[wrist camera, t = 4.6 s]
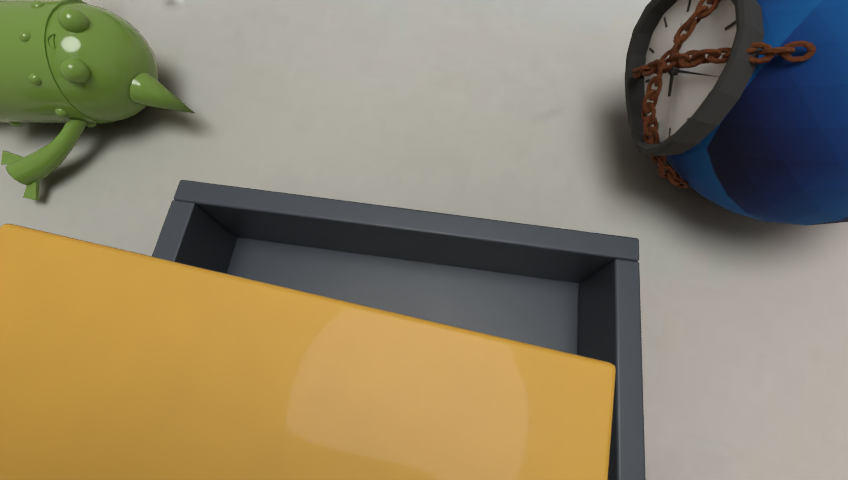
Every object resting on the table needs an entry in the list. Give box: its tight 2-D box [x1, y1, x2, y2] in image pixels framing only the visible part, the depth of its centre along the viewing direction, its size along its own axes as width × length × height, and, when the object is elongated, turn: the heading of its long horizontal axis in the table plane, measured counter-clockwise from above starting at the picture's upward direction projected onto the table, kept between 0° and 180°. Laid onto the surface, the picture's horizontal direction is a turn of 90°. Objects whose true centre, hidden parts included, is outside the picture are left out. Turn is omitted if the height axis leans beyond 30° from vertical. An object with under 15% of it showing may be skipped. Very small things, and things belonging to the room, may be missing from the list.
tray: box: [152, 180, 645, 480], centre depth 14 cm, size 16×16×4 cm
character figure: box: [0, 0, 194, 200], centre depth 18 cm, size 12×5×12 cm
